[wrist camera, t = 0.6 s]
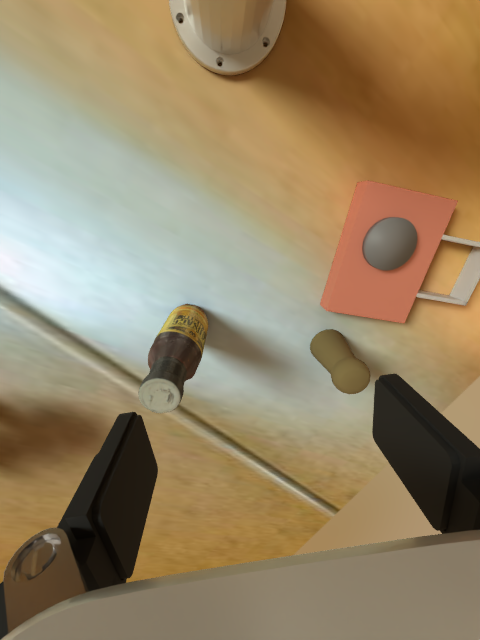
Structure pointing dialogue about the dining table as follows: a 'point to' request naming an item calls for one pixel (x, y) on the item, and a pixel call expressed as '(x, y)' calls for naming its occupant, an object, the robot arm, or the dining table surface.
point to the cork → (340, 362)
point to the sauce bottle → (174, 358)
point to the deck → (393, 253)
